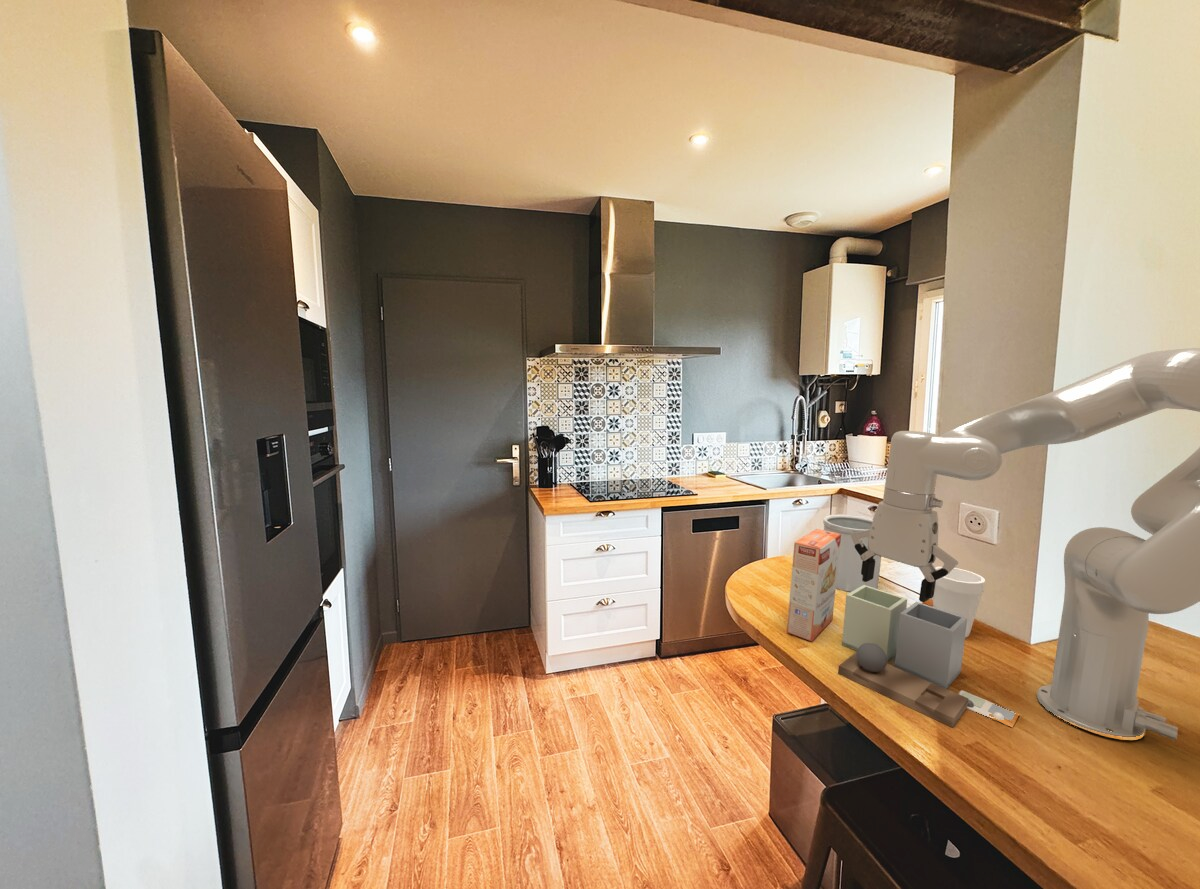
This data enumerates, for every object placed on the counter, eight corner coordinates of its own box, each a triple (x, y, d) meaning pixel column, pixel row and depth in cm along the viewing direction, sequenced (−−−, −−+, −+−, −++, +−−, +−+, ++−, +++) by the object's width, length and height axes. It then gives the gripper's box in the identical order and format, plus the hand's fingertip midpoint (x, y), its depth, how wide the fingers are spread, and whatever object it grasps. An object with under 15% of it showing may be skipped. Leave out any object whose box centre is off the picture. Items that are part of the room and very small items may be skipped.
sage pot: (902, 649, 98) (907, 598, 97) (885, 663, 93) (890, 610, 92) (859, 632, 105) (863, 584, 103) (841, 644, 100) (846, 594, 98)
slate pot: (960, 672, 91) (967, 617, 89) (946, 689, 85) (953, 631, 84) (910, 652, 97) (916, 601, 96) (894, 667, 92) (900, 613, 90)
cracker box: (814, 643, 100) (821, 547, 97) (785, 633, 104) (792, 540, 101) (835, 620, 110) (842, 532, 107) (808, 611, 114) (814, 527, 112)
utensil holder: (823, 589, 127) (828, 526, 124) (815, 569, 141) (820, 511, 139) (885, 598, 122) (892, 532, 120) (871, 576, 137) (876, 516, 134)
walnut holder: (967, 707, 81) (968, 698, 81) (952, 727, 76) (953, 718, 76) (856, 658, 95) (857, 651, 94) (838, 673, 90) (838, 665, 89)
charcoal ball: (890, 671, 89) (892, 646, 88) (879, 681, 85) (881, 655, 85) (862, 659, 92) (864, 635, 92) (850, 668, 89) (852, 643, 89)
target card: (1019, 717, 79) (1020, 709, 79) (1012, 730, 76) (1013, 722, 76) (961, 692, 85) (962, 685, 85) (952, 704, 82) (953, 696, 82)
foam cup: (989, 639, 103) (996, 581, 101) (954, 643, 101) (961, 585, 99) (948, 618, 112) (954, 565, 111) (916, 622, 110) (921, 568, 108)
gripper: (972, 509, 81) (957, 603, 84) (867, 487, 95) (856, 569, 97) (957, 514, 77) (941, 614, 79) (848, 491, 90) (838, 577, 93)
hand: (894, 589), depth 88 cm, fingers open, 9 cm apart
